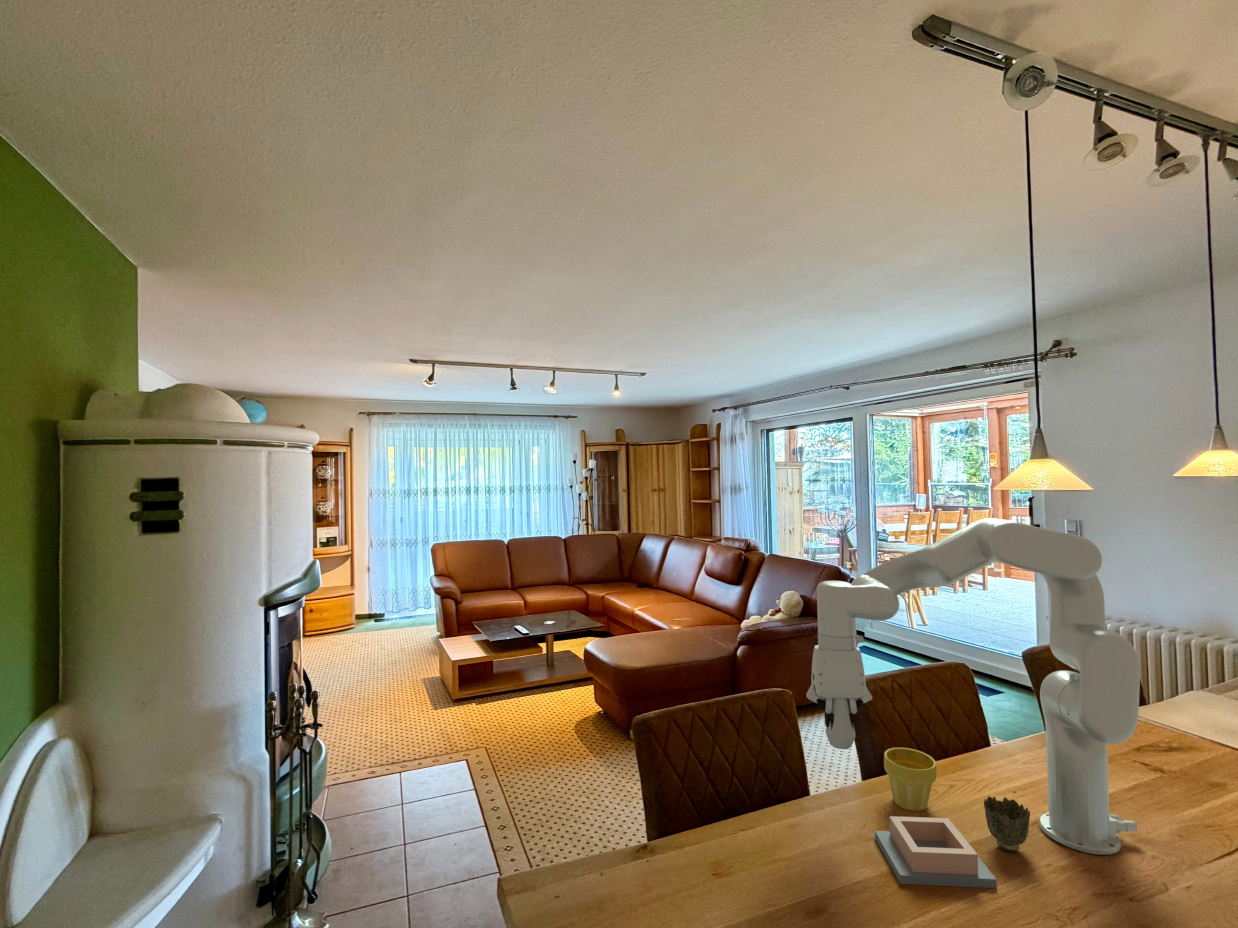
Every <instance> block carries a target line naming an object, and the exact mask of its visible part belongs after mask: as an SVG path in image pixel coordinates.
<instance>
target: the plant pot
mask: <svg viewBox="0 0 1238 928" xmlns="http://www.w3.org/2000/svg"><path fill="white" fill-rule="evenodd" d="M883 767H884V771H885V773H886V774H887V776H888V780H889V785H890V789H891V795H892V801H894V803H895V804H896V805H897V806H899V807H900V808H902V809H905V810H906V811H907V810H908V811H910V812H911V811H913V812H922V811H925V810H926V809H927V808H928V804H929V799H930V795H931V791H932V786H933V783H935V782H936V780H937V761H936V760H935V759H934V757H932V756H931V755H929V754H927V753H925V752H923V751H921V750H918V749H913V748H910V747H909V748H908V747H891V748H888V749H887V750H885V751H884V754H883Z"/></svg>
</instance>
